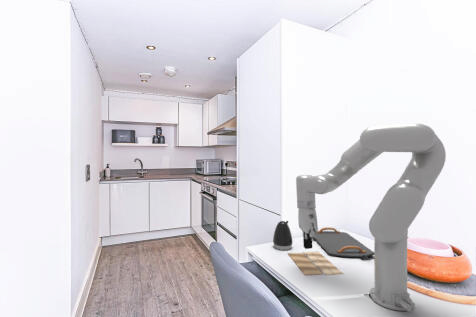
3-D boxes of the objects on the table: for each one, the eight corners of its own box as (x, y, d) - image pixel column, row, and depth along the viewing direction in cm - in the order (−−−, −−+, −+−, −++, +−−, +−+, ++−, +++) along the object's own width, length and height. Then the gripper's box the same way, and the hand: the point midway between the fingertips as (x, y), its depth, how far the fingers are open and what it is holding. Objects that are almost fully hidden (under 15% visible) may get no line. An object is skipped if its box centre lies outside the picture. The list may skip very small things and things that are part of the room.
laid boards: (344, 276, 99) (344, 273, 99) (325, 278, 98) (325, 275, 98) (318, 253, 123) (318, 251, 123) (302, 254, 122) (302, 252, 122)
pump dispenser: (296, 249, 129) (296, 220, 129) (285, 254, 122) (285, 224, 121) (280, 244, 136) (279, 217, 136) (269, 249, 129) (269, 221, 128)
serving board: (379, 262, 114) (379, 248, 114) (330, 262, 114) (330, 249, 114) (344, 235, 152) (344, 225, 152) (307, 235, 152) (307, 225, 152)
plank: (323, 276, 99) (323, 274, 99) (304, 277, 98) (304, 274, 98) (303, 255, 121) (303, 252, 121) (287, 255, 120) (287, 253, 120)
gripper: (322, 207, 95) (324, 253, 95) (307, 201, 110) (309, 241, 110) (304, 208, 94) (306, 255, 94) (291, 202, 109) (293, 242, 109)
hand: (308, 247), depth 102 cm, fingers closed
